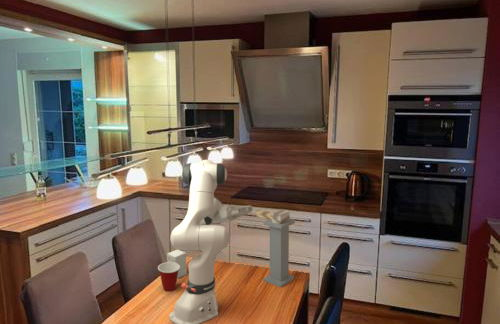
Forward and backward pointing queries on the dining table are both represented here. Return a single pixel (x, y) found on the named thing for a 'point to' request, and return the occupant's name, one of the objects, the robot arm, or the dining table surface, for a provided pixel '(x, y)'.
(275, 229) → the pedestal shelf
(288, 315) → the dining table surface
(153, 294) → the dining table surface
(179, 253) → the supplement box
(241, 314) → the dining table surface
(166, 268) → the plastic cup
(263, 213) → the mallet
